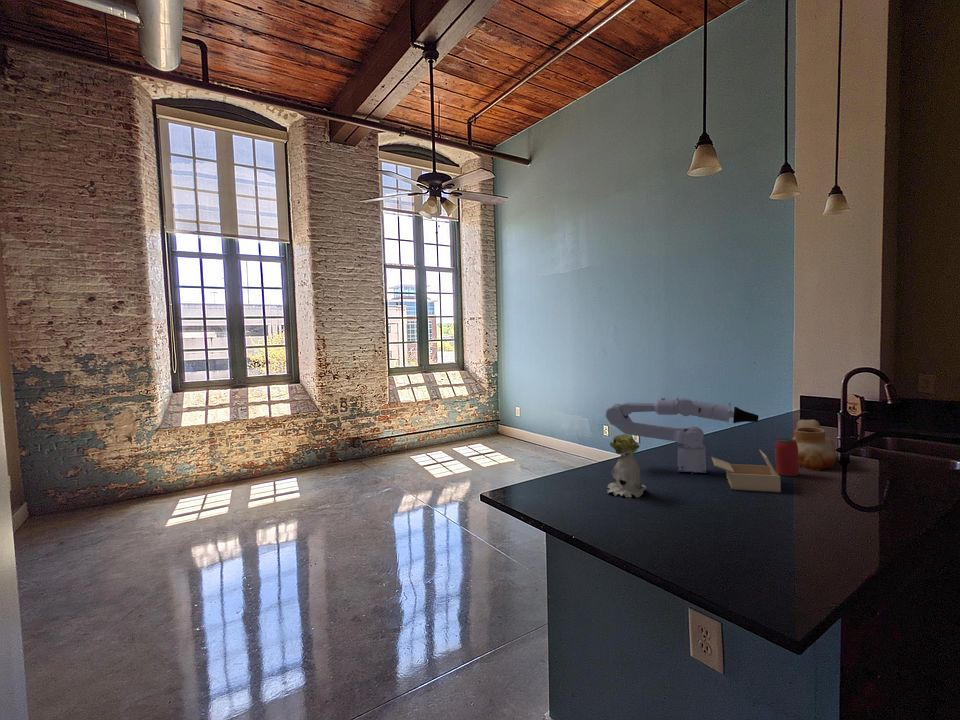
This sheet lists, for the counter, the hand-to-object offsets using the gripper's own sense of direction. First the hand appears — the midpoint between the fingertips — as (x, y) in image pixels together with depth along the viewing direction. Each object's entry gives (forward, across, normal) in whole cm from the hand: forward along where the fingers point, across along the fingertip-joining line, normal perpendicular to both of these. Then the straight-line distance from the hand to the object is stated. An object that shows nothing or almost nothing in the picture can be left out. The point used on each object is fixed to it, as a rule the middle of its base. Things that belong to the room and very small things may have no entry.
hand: (757, 418), depth 157 cm
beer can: (+12, +8, +18) cm, 22 cm away
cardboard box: (0, -10, +21) cm, 23 cm away
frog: (-35, -29, +30) cm, 54 cm away
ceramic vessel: (+21, +28, +14) cm, 38 cm away
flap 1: (-9, -11, +17) cm, 22 cm away
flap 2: (+4, -10, +13) cm, 17 cm away
